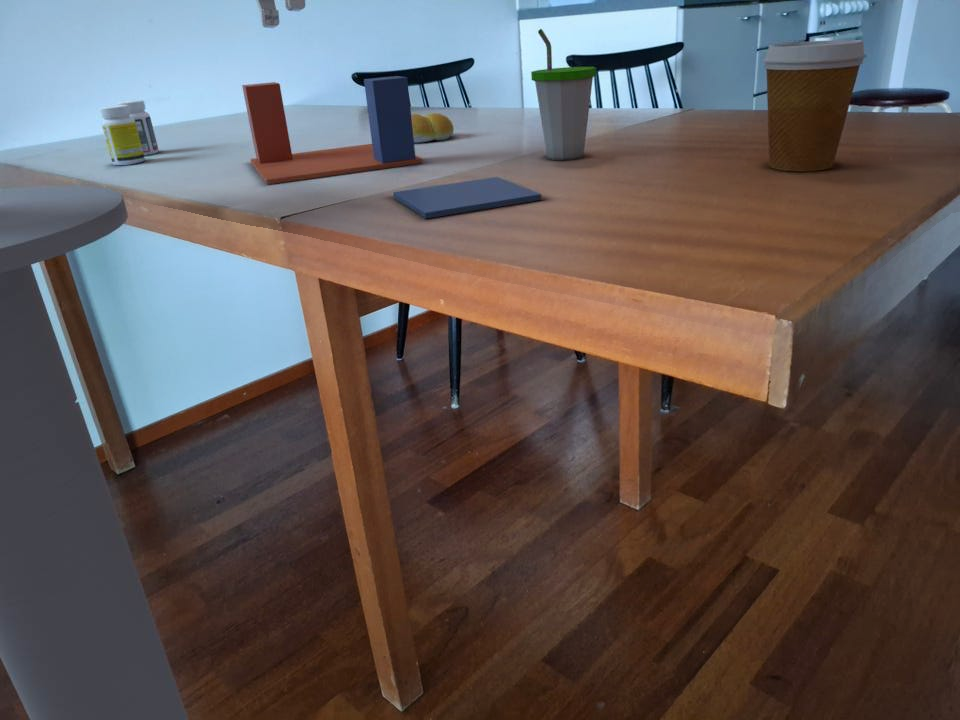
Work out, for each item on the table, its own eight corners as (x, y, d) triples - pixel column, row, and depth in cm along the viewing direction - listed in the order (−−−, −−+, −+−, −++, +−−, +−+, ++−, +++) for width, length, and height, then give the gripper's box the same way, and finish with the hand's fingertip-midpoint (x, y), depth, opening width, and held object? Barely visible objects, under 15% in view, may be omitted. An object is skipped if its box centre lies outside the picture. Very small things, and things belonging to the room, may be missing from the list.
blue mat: (425, 219, 67) (425, 212, 67) (393, 197, 76) (392, 192, 76) (541, 200, 71) (541, 193, 71) (497, 182, 80) (497, 176, 80)
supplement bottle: (152, 160, 114) (137, 104, 111) (128, 165, 110) (112, 108, 107) (130, 159, 116) (115, 104, 113) (106, 165, 112) (90, 108, 109)
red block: (260, 163, 100) (245, 86, 95) (256, 159, 103) (242, 85, 99) (292, 159, 101) (279, 83, 97) (288, 155, 105) (275, 82, 101)
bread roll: (461, 138, 113) (460, 111, 111) (407, 145, 109) (404, 118, 108) (442, 133, 120) (440, 107, 118) (390, 139, 116) (387, 113, 115)
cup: (581, 149, 96) (580, 25, 89) (606, 157, 89) (607, 23, 83) (526, 156, 94) (520, 29, 88) (546, 165, 87) (542, 29, 81)
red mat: (267, 184, 88) (266, 179, 88) (251, 163, 105) (250, 159, 104) (422, 163, 95) (421, 158, 94) (384, 146, 111) (384, 142, 111)
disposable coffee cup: (734, 167, 79) (743, 47, 74) (792, 154, 83) (805, 40, 78) (810, 179, 71) (826, 46, 66) (870, 164, 75) (890, 38, 70)
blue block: (382, 163, 93) (372, 80, 89) (373, 158, 97) (363, 79, 93) (415, 159, 94) (407, 77, 90) (406, 154, 98) (397, 76, 94)
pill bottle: (147, 151, 125) (134, 99, 121) (165, 151, 122) (152, 99, 119) (123, 156, 121) (108, 103, 117) (140, 156, 119) (126, 103, 115)
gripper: (219, -90, 87) (232, 33, 90) (267, -160, 70) (282, -5, 74) (271, -82, 90) (282, 37, 94) (329, -147, 73) (340, 1, 77)
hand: (282, 18), depth 83 cm, fingers open, 8 cm apart
